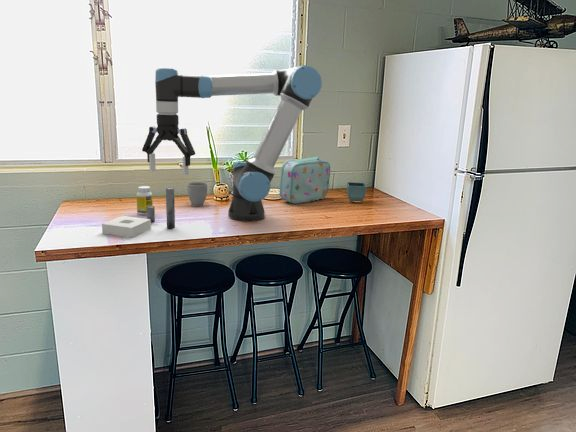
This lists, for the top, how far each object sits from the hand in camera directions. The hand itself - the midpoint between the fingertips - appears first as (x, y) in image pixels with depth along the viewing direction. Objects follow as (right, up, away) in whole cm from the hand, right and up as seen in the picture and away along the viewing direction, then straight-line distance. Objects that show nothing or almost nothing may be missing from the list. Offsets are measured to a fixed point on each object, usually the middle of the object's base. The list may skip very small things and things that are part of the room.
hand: (169, 173), depth 172 cm
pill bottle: (-16, -15, +23) cm, 32 cm away
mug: (+2, -10, +43) cm, 44 cm away
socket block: (-15, -21, -1) cm, 26 cm away
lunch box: (+52, -9, +58) cm, 78 cm away
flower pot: (+77, -9, +59) cm, 97 cm away
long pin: (-1, -20, +5) cm, 21 cm away
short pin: (-10, -18, +12) cm, 24 cm away
